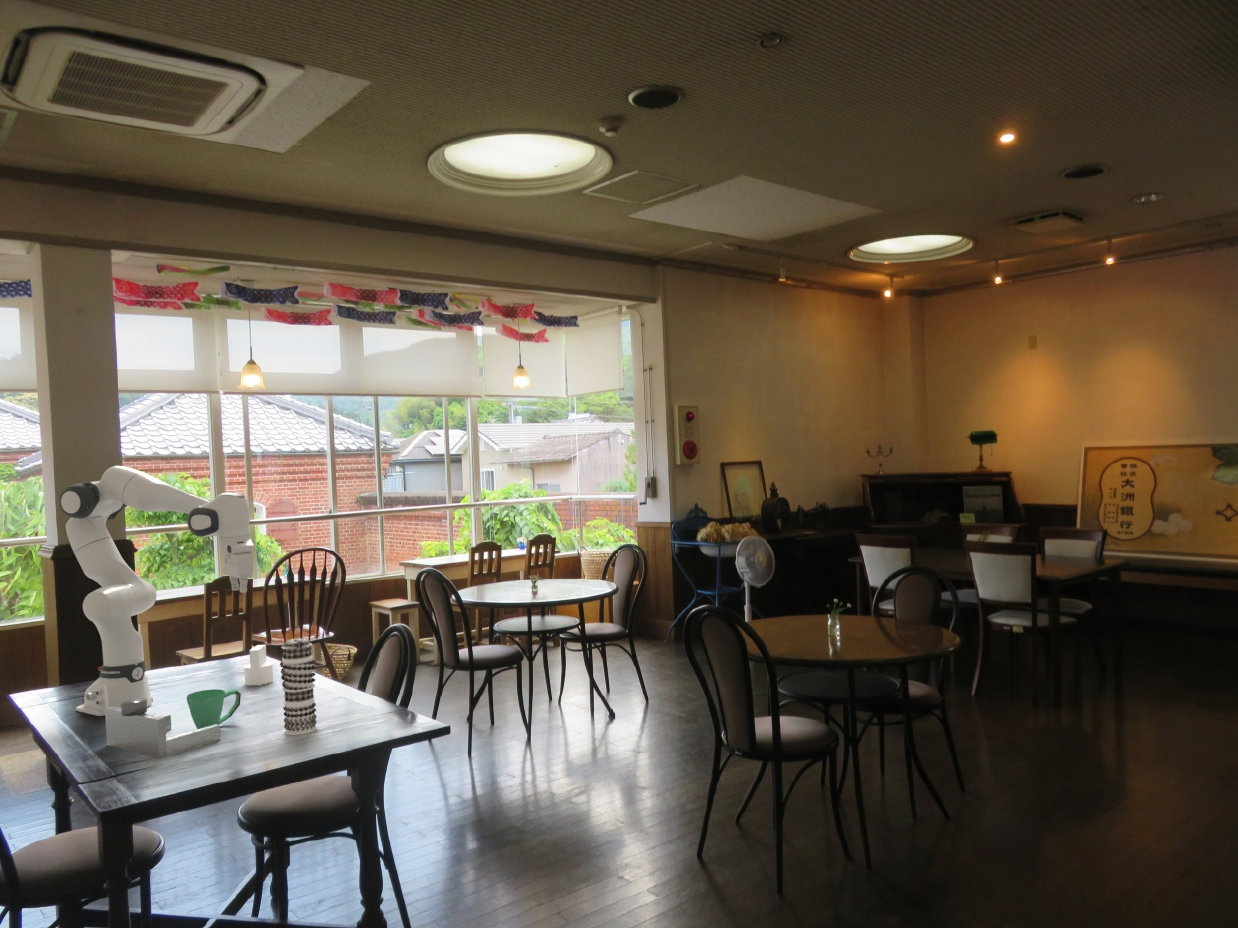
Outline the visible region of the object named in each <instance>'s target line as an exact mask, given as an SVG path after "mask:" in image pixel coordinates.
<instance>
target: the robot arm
mask: <svg viewBox="0 0 1238 928" xmlns="http://www.w3.org/2000/svg"><path fill="white" fill-rule="evenodd" d="M58 504H59V508H60V511H62V513H63V514H65V516H67V517H69V519H68V520H67V522H66V524H65V530H66V535H67V539H68V541H69V544H70V547H71V550H72V551H73V554H74V555H75V558H76V559H77V562H78V563H79V565H80V567H81V569H82V571H83V573H84V575H85V576H86V577H87V578H89V580H90V579H91V580H93V581H95V582H96V584H97V583H98V585H100V587H99V588H97V589H95V590H93V591H91V592H89V593H88V594H87V595H86V596H85V597H84V599H83V602H82V610H83V613H84V615H85V617H86V618H87V619H88V620H89V621H91V622H93V624H94V625H95V627H96V629H97V631H98V633H99V636H100V640H101V647H102V648H101V649H102V661H103V664H102V666H99V667H98V666H97V669H98V670H97V671H100V672H99V677H98V678H97V679H96V680H95V681H94V682H93V683H92V684H91V685H89V687H88V688H86V690H85V692H84V703H82V704H79V705H78V706H76V707H75V711H76V712H80V713H84V714H88V715H91V716H92V715H93V716H97V717H101V716H103V717H104V716H105V708H109V707H117V708H121V703H122V702H124V701H127V700H131V699H139V698H144V699H147V708H148V707H150V706H152V702H153V701H154V697H153V696H151V693H150V691H151V690H150V683H149V679H148V676H147V674H146V671H147V668H146V667H147V663H146V659H144V657H145V656H144V640H143V639H144V637H143V635H142V634H141V633H140V632H139V631H137V630H136V628H135V627H134V624H133V622H132V617H133V616H136V615H137V616H138V615H141V614H143V613H144V612H146V611H147V610H149V609H151V608H152V607H153V606H154V605H155V603H156V601H157V591H156V588H155V586H153V584H151V583H150V582H149V581H146V580H144V579H142V578H141V577H140V576H139V575H138V574H137V573H136V572H135V571H134V570H133V569H132V568H131V567H130V566H129V565H128V563H126V561H125V560H124V559H123V557H122V555H121V553H120V551H119V550H118V548H117V545H116V544H115V542H114V540H113V537H112V536H111V534H110V532H109V530H108V528H107V520H114V519H115V518H116V517H117V516H118V515H119V514H120V513H121V512H122V511H124V510H125V509H126V508H127V507H130V508H132V509H135V510H139V511H143V512H147V513H148V512H149V513H155V512H157V513H158V512H179V513H184V514H187V515H188V516H187V522H186V523H187V528H188V530H189V531H190V533H191V534H193V535H194V536H195V537H199V538H209V537H218V536H219V550H220V551H219V552H220V553H221V554H223V572H224V575H225V576H229V581H230V584H231V590H232V591H239V593H241V594H244V593H245V594H246V593H247V592H248V587H247V586H248V582H249V581H248V579H249V578H252V577H253V574H254V555H253V552H255V545H254V543H253V541H252V533H251V530H250V522H251V521H250V520H251V517H250V516H251V515H250V508H249V504H248V500H247V498H246V496H245V495H244V494H242V493H240V492H239V493H238V492H221V493H219V494H218V495H217V496H216V497H215V498H214V499H213V500H210V499H207V498H205V497H202V496H199V495H197V494H194V493H192V492H188V491H186V490H183V489H181V488H178V487H176V486H174V485H171V484H170V483H167V482H165V481H163V480H160V479H158V478H156V477H154V476H152V475H149V474H148V473H145V472H143V471H140V470H138V469H135V468H131V467H127V466H122V465H115V466H111V467H109V468H107V470H105V471H104V473H103V474H102V476H101V478H100V480H96V481H95V480H94V481H87V482H79V483H75V484H72V485H70V486H68V487H66V488H65V489H63V490H62V491H61V492H60V494H59V499H58Z"/></svg>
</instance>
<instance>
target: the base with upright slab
mask: <svg viewBox="0 0 1238 928" xmlns="http://www.w3.org/2000/svg"><path fill="white" fill-rule="evenodd" d="M273 666H274V665H273V662H270V661H267V645H266V644H257V645H255V646H254V647H252V648H251V649H249V663H248V664H246V665H244V668H243V670H244V685H245V684H246V685H245V686H247V685H258V686H263V685H262V684H265V685H268V684H267V683H269V684H271V683H272V681H273V682H274V667H273ZM270 682H271V683H270Z"/></svg>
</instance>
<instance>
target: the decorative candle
mask: <svg viewBox="0 0 1238 928" xmlns="http://www.w3.org/2000/svg"><path fill="white" fill-rule="evenodd" d="M312 645H313V643H312V642H310V641H309V639H307V638H304V637H303V638H300V637H299V638H292V639H289V640H286V641H285V643H284V644H283V645H282V646H281V647H280V648H281V649H282V660H281V661H280V663H279V666H280V668H281V670H280V673H281V676H280V678H281V680H282V683H281V686H282V691H283V692H284V700H283V701H284V703H283V704H284V706H283V708H282V709H283V711H284V712H283V716H284V719H283V722H284V725H283V729H284V734H286V735H290V736H292V735H293V736H299V735H305V734H309V733H312V732H314V731H316V730H317V723H318V722H317V714H315V712H317V709H316V708H315V707H316V706H317V704H316V702H315V696H314V688H315V687H316V685H315V683H314V682H315V681H316V678H314V676H316V672H315V673H314V672H313V670H314V669H316V666H315V665H314V664H315V663H316V660H315V659H314V658H313V654H312Z"/></svg>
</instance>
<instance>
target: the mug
mask: <svg viewBox="0 0 1238 928" xmlns="http://www.w3.org/2000/svg"><path fill="white" fill-rule="evenodd" d="M231 695H235V701H234V703H233V705H232V706H231V707H230V710H229V711H228V712H227V713H226V714H225V715H223V716H222V712H223V706H224V702H225V698H228V697H229V696H231ZM241 697H242V693H241V692H240V691H239V690H238V689H237V688H235V689H230V690H227V691H225V690H223V689H218V688H216V689H204V690H203V689H202V690H199V691H195V692H192V693H191V692H190V693H189V694H187V696H186V702H187V705H188V708H189V713H190V716H191V718H192V720H193V723H194V726H195V727H196V730H197V729H200V728H204V727H207V726H210V725H214V724H217V725H221V724H222V723H224V722H226V721H227V720H228V719H230V718H231V717H232V716H233V715H234V713H235V712H236V710H237V709H238V708H239V707H240V705H241ZM221 716H222V717H221Z"/></svg>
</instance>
